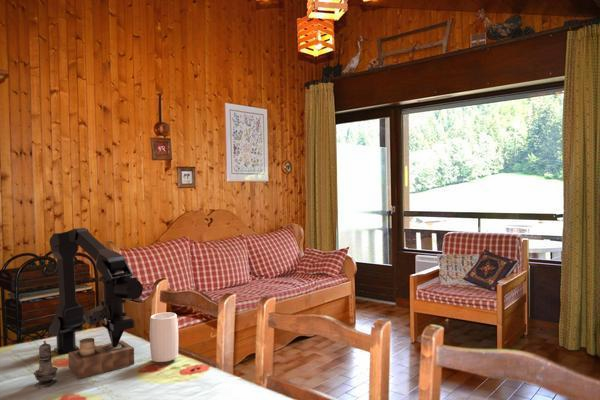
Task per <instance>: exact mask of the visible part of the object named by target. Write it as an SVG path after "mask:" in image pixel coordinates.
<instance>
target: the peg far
mask: <svg viewBox="0 0 600 400" xmlns="http://www.w3.org/2000/svg"><path fill="white" fill-rule="evenodd" d="M121 347H122V345H119V344H118V345H117V347H113V346H112V345H111V346H109V347H108V350H113V349H117V348H121Z"/></svg>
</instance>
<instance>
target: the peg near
mask: <svg viewBox="0 0 600 400" xmlns="http://www.w3.org/2000/svg"><path fill="white" fill-rule="evenodd" d="M79 350H80V357H83V356H88V355H92V354H95V338H92V337H87V338H82V339H80V340H79Z"/></svg>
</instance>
